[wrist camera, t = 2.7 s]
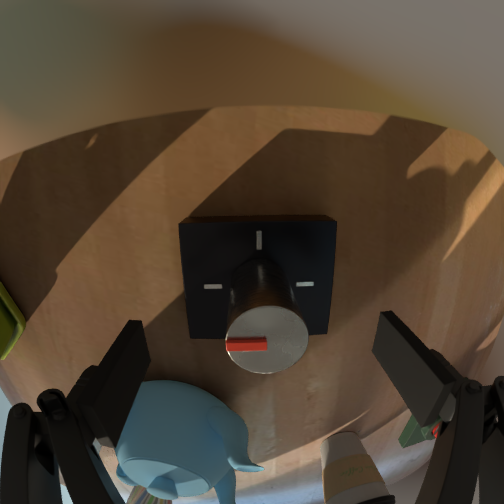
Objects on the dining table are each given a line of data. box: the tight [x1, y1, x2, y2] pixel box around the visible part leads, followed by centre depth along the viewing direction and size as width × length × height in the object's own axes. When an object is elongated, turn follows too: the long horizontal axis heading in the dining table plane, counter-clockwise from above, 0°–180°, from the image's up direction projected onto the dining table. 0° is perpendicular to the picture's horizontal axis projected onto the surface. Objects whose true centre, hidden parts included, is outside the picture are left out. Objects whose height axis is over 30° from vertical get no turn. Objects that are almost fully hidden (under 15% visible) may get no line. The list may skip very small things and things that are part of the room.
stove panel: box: [178, 215, 337, 339], centre depth 23 cm, size 12×10×3 cm
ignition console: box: [398, 377, 468, 448], centre depth 31 cm, size 10×12×4 cm
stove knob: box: [225, 258, 309, 374], centre depth 18 cm, size 4×4×8 cm
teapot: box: [114, 380, 264, 504], centre depth 24 cm, size 17×19×12 cm
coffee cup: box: [320, 432, 395, 504], centre depth 25 cm, size 9×9×15 cm
